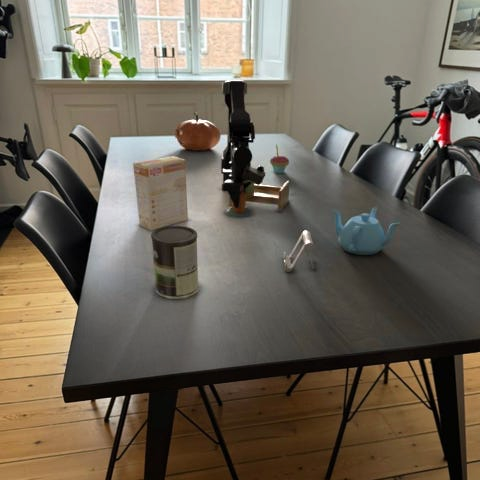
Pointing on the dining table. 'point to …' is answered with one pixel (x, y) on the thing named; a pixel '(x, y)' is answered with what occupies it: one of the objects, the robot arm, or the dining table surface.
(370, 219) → the teapot
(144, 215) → the coffeecake box
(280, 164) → the cupcake
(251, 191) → the green bottle
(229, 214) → the coaster
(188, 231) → the coffee can
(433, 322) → the dining table surface
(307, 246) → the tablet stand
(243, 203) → the amber bottle
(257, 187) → the spice rack
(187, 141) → the pumpkin
